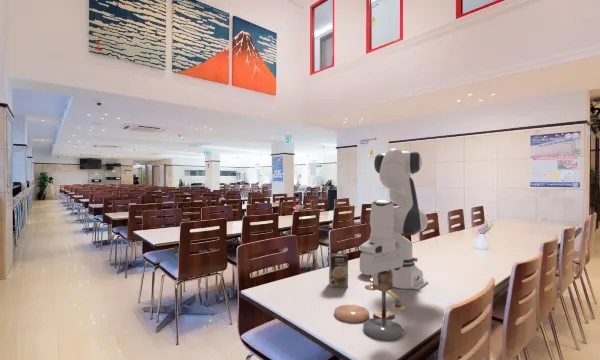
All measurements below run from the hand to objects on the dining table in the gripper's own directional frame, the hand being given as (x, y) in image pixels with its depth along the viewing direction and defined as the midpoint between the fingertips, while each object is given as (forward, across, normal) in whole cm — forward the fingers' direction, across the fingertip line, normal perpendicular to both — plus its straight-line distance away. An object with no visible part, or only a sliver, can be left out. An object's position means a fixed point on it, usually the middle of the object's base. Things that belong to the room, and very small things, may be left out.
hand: (382, 282), depth 111 cm
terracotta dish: (+17, 0, -16) cm, 24 cm away
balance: (+17, -9, -7) cm, 21 cm away
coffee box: (+18, -19, -45) cm, 52 cm away
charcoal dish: (+17, 0, 0) cm, 17 cm away
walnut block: (+2, 0, 0) cm, 2 cm away
